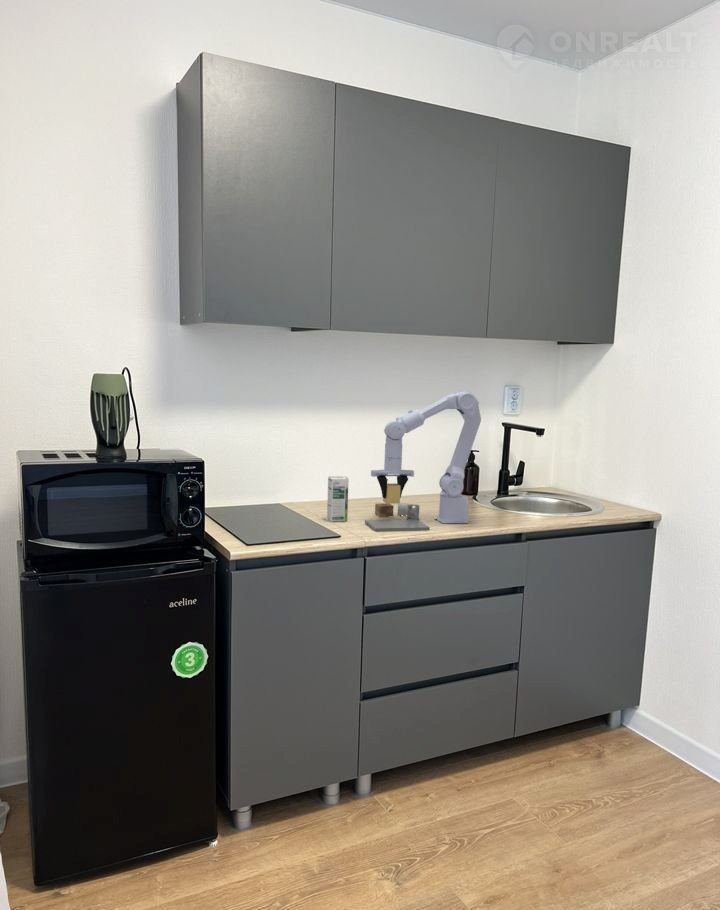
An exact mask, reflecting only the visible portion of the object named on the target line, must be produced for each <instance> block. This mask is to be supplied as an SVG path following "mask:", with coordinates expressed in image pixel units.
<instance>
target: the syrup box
mask: <svg viewBox="0 0 720 910" xmlns="http://www.w3.org/2000/svg"><path fill="white" fill-rule="evenodd" d="M348 507H349V478H348V477H347V476H345V475H340V476H339V475H335V476H333V475H332V476H331V475H329V476H327V506H326V509H327V512H326V514H327V515H326V518H327V519H328V520H329V522H348V509H349V508H348Z"/></svg>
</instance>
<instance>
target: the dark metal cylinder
mask: <svg viewBox="0 0 720 910" xmlns="http://www.w3.org/2000/svg"><path fill="white" fill-rule="evenodd" d="M408 504H409V505H408V510H407V517H406V520H407V519H408V520H411V519H417V520H419V521H420V505H419V504H414V503H413V504H412V503H411V504H410V503H408Z"/></svg>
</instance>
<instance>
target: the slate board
mask: <svg viewBox="0 0 720 910" xmlns="http://www.w3.org/2000/svg"><path fill="white" fill-rule="evenodd" d="M364 524H365V525H366V526H368V527H369V528H370V529H371V530H372V531H374V532H375V533H376V532H377V533H378V532H379V533H380V532H417V531H421V530H429V531H430V530H431V529H430V526H428V525H426V524H425V523H423V522H422V521H420V519H419V520H417V519H411V520H407V519H369V520H364Z"/></svg>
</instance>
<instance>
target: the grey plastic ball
mask: <svg viewBox="0 0 720 910" xmlns="http://www.w3.org/2000/svg"><path fill="white" fill-rule="evenodd" d="M409 504H410V503H406V502H402V503H401V502H400V503H398V504H397V514H398V515H403V516H406V515H407V510H408V505H409ZM398 515H397V516H398Z"/></svg>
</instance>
